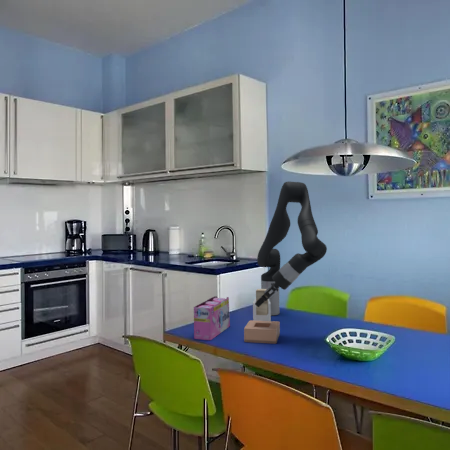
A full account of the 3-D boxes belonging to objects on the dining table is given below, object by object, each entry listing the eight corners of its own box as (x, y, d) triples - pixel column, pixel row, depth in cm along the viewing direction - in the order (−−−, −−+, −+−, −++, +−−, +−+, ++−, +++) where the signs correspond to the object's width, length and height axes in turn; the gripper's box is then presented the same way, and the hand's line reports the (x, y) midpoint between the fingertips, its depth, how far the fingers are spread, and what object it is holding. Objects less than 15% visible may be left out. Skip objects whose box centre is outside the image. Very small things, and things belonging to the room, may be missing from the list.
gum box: (215, 324, 200) (215, 295, 200) (231, 325, 198) (230, 296, 197) (193, 338, 178) (192, 306, 178) (210, 340, 175) (210, 308, 175)
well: (249, 332, 185) (249, 320, 185) (279, 334, 182) (279, 321, 182) (244, 341, 173) (244, 328, 172) (276, 343, 170) (276, 330, 169)
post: (258, 312, 180) (257, 288, 179) (268, 312, 179) (268, 289, 178) (256, 314, 175) (255, 290, 175) (266, 315, 174) (266, 291, 174)
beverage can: (264, 328, 191) (264, 302, 190) (249, 326, 196) (249, 300, 195) (274, 324, 197) (273, 299, 197) (259, 322, 202) (259, 297, 202)
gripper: (281, 266, 182) (253, 294, 185) (277, 271, 168) (248, 301, 171) (294, 279, 181) (266, 306, 184) (291, 285, 167) (261, 314, 170)
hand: (257, 303), depth 177 cm, fingers closed on post, 4 cm apart
